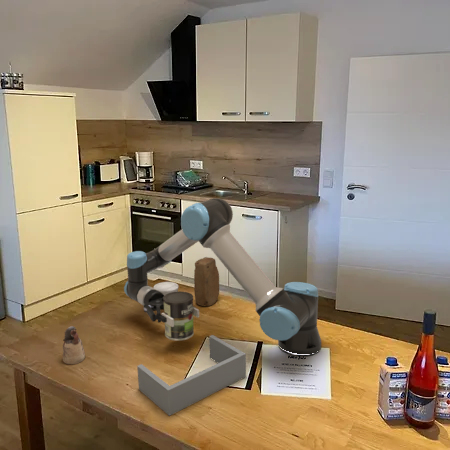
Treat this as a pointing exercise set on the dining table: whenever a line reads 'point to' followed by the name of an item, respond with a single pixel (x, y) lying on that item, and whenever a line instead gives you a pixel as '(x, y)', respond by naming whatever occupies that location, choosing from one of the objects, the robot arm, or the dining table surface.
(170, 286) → the ramekin
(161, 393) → the grey u-shaped bracket
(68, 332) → the figurine
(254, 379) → the dining table surface
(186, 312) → the coffee can
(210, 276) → the block
